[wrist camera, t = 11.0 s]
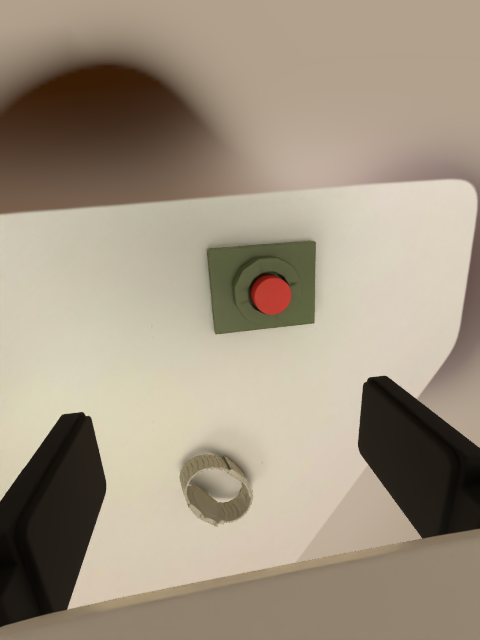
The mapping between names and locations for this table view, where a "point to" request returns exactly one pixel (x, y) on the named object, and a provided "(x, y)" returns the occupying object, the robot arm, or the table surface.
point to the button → (271, 294)
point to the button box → (245, 268)
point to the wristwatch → (204, 502)
